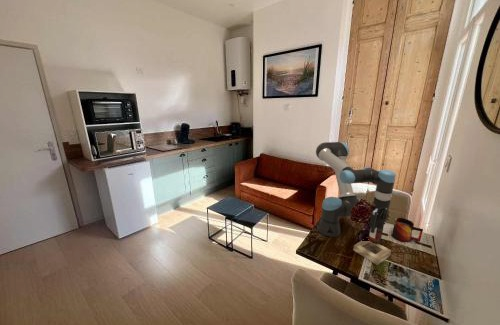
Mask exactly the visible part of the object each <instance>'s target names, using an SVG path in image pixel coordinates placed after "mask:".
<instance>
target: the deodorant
mask: <svg viewBox="0 0 500 325" xmlns="http://www.w3.org/2000/svg"><path fill="white" fill-rule="evenodd" d="M384 223H386V222H385V218H383V217H380V218H379V220H378V223H377V226H376V228H377V230H376V235H375V238H372V237H370V236H369V235H370V232H369V235H368V238H369V239H368V240H369V241H370V242H371V243H374V244H380V245H381V241H382V235H383V230H384ZM370 230H371V227H369V231H370Z"/></svg>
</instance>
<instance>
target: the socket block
mask: <svg viewBox="0 0 500 325" xmlns="http://www.w3.org/2000/svg"><path fill="white" fill-rule="evenodd" d="M352 251H354V252H355V253H357V254H359V255H361V256H362V257H364V258H365V259H367V260H368V261H370V262H372V263H373V264H374V265H376V266H378V265H380V264H381V263H382V262H384V261H385V260H386V259H388V258H389V257H390V256H391V255H392V250H391V249H389V248H388V247H385V246H384V245H381V243H380V244H374V243H371V242H370V241H362V240H360V241H359V242H357V243H356V244H354V245H353V249H352Z"/></svg>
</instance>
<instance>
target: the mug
mask: <svg viewBox="0 0 500 325" xmlns="http://www.w3.org/2000/svg"><path fill="white" fill-rule="evenodd" d="M414 224H415V223H414V222H413V221H411V220H409V219H407V218H402V217H396V218H395V219H394V224H393V228H392V232H391V237H392V238H393V239H394V240H395V241H398V242H400V243H406V242H407V243H410V242H411V241H410V240H412V241H415V242H419V243H420V242H421V239H422V235H423V231H424V229H423V228H420V227H416V226H414ZM413 231H417V232H419V234H418V235H419V236H418V237H414V236H412V234H413V233H412V232H413Z"/></svg>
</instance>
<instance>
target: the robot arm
mask: <svg viewBox="0 0 500 325" xmlns="http://www.w3.org/2000/svg"><path fill="white" fill-rule="evenodd" d="M349 148H350V147H349V146H348V145H347V143H346V142H344V141H331V142H327V141H325V142H322V143H320V144H318V145H317V147H316V150H315V154H316V157H317V158H318V159H319V161H321V162H324V163H326V164H327V166H329V167H330V168H331V169H332V170H334V173H335V179H336V182H337V187H338V192H339V196H338V197H336V196H335V197H334V196H328V197H325V198H323V201H322V205H321V216H320V219H319V222H318V223H317V226H316V227H317V231H318V232H319V233H320V234H322V235H323V236H327V237H332V238H334V237H338V236H340V235H341V231H342V230H341V226H340V218H347V217H352V216H351V209H352V208H353V207H354V205H355V204H356V203H357V202H358V201H360V200H361V199H360V198H358V197H357V194H355V192H354V191H353V187H352V186H353V185H352V184H363V183H371V184H373V185H375V191H374V197H373V205H374V206H375V208H374V209H373V210H371V213H370V214H371V215H370V219H369V224H368V226H369V228H371V230H370V229H369V233H370V235H368V237H369V236H370V237H372V238H375V235H376V230H377V228H376V226H377V223H378V220H379V218H380V217H383V218H385V222H384V225H386V222H387V218H388V212H389V207H390V206H391V199H392V198H393V195H392V194H393V190H394V185H395V182H396V175H397V174H396V172H395V171H392V170H389V169H381V170H377V169H375V168H373V167H369V166H366V167H363V168H361V169H354V168H352V167H351V166H350V165H349V164H347V162H346V160H347V159H348V156H349V152H350V149H349Z"/></svg>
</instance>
